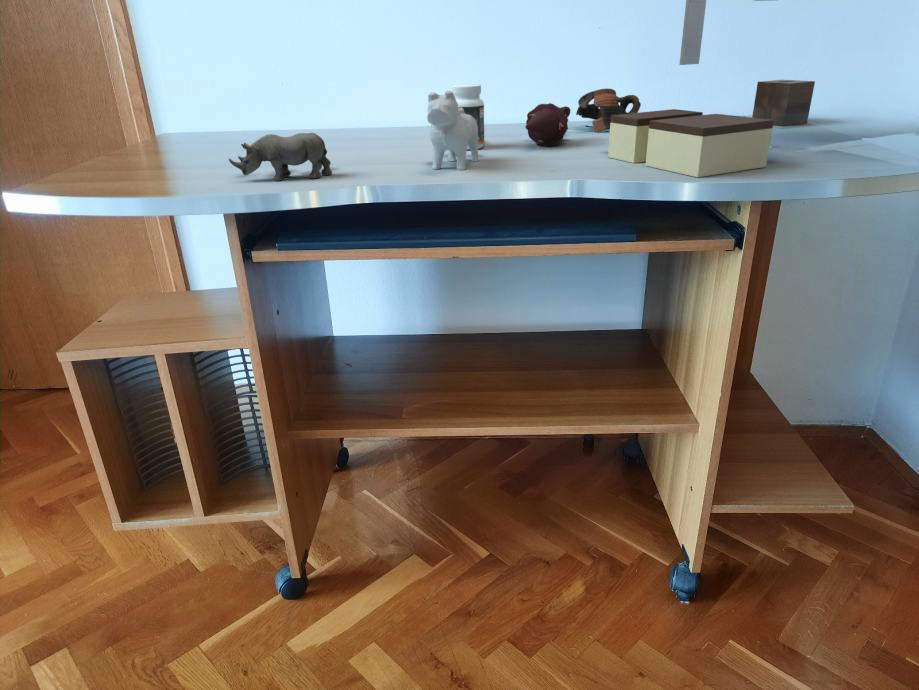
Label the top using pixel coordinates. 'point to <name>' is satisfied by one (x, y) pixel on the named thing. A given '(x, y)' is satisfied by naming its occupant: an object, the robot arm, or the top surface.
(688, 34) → the knife
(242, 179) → the top surface
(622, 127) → the cake slice
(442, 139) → the dog figurine
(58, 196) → the top surface
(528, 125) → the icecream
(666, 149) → the cake
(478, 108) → the pill bottle
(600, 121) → the pottery mug
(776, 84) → the knife block
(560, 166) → the top surface
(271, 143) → the rhino figurine
